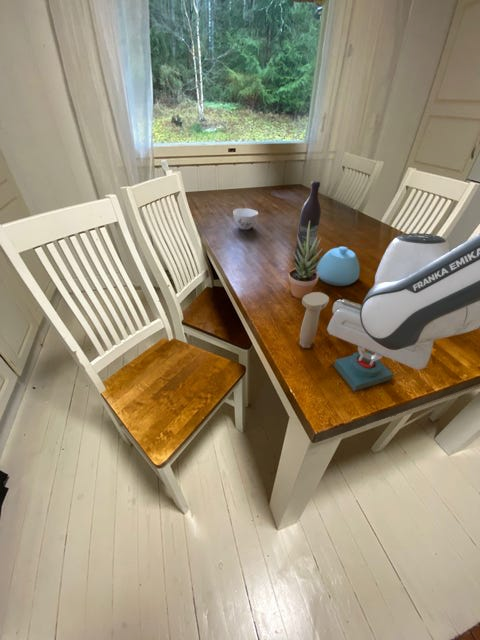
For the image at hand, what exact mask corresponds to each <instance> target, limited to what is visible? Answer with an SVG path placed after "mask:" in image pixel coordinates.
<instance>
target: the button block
mask: <svg viewBox="0 0 480 640" xmlns="http://www.w3.org/2000/svg"><path fill="white" fill-rule="evenodd" d="M366 353H369V354H371V355H374V354H375V353H374V352H372V351H370V350H367V351H366ZM360 356H361V355H360V354H359V351H356V352H353V354H352V355H349V356H345V357H341V358H337V359H335V361H334V364H333V367H334V368H335V369H336V371H337V372H338V373H339V374H340V376H341V377H342V378H343V379H344V381H346V383H347V384H348V385H349V386H350V388H351V390H353V392H356V391H360V390H363V389H367V388H369V387H373V386H377V385H379V384H383V383H385V382H389V381H391V380H392V377H393V376H394V373H393V372H392V371H391V370H390V369H389V368H388V367H387V366H386V365H385V364H384V363H383V362H382V361H381V359H379V360H376V361H374V362H375V364H374V367H373V368H371V369H369V368H364V367H362V366H360V365H359V363H358V362H357V360H358V358H359V357H360Z"/></svg>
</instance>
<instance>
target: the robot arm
mask: <svg viewBox="0 0 480 640" xmlns="http://www.w3.org/2000/svg"><path fill="white" fill-rule="evenodd" d="M332 314H333V315H332V317H331V318H330V320H329V322H328V325H327V328H326V331H327V333H328V334H329V335H330V336H333V337H335V338H338V339H340V340H343V341H345V342H347V343H349V344H352V345H355V346H357V352H359V354H360V355H361V356H360V358H359V361H362V362H364V363H367V364H369V365H371V366H372V364H373V362H374V361H376V360H381V359H382V358H383V357H385V358H387V359H390V360H392V361H395V362H397V363H400V364H402V365H404V366H406V367H409V368H412V369H414V370H417V371H419V370H420V371H421V370H423V369H425V368H426V366H428V363H429V360H430V358H431V355H432V351H433V348H434V342H435V341H437V340H440V339H445V338H450V337H453V336H459V335H462V334H467V333H470V332H474V331H477V330H479V329H480V233H478V234H477V235H475V236H473V237H472V238H470V239H468V240H467V241H465V242H463V243H462V244H460V245H458V246H457V247H455V248H453V249H452V250H450V245H449V242H448V241H447V240H446V239H445V238H444V237H442V236H440V235H437V234H432V233H425V232H423V233H419V232H414V233H405V234H400V235H397V236H396V237H394V239H393V240H392V241H391V242H390V243H389V244H388V246H387V247H386V250H385V252H384V254H383V255H382V257H381V260H380V262H379V265H378V267H377V270H376V273H375V276H374V284H373V286H372V287H371V288H370V290H368V292H367V293H366V295H365V297H364V298H363V301H362V304H361V303H358V302H353V301H351V300H349V299H345V298H343V299H338V300H336V301H334V303H333V305H332ZM366 350H367V351H371V352H372V353H373V354H374V355H371V354H369V353H366V352H367V351H366Z"/></svg>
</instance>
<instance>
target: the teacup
mask: <svg viewBox="0 0 480 640" xmlns="http://www.w3.org/2000/svg"><path fill="white" fill-rule="evenodd" d="M232 216H233V221H234V222H235V224H236V226H237V227H238V228H239V229H241V230H251V228H252V227H253V226H254V225H255V224H256V222H257V220H258V217H259V212H258V210H256V209H252V208H241V207H240V208H235V209H234V210H233V211H232Z"/></svg>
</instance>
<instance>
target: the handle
mask: <svg viewBox="0 0 480 640" xmlns="http://www.w3.org/2000/svg"><path fill="white" fill-rule="evenodd" d="M329 301H330V297H329V296H328V295H327V294H326V293H323V292H321V291H317V292H316V291H314V292H311V293H309V294H307V295H305V296H304V297H303V298H301V304H302V306H303V307H304V308H306V309H305V312H304V316H303V320H302V323H301V327H300V332H299V346H300V347H302V349H310V348H311V347H312V344H313V343H314V340H315V339H316V335H317V331H318V328H319V327H318V326H319V319H320V315H321V311H322V310H323V309H325V308H326V307H327V305H328V303H329Z"/></svg>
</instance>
